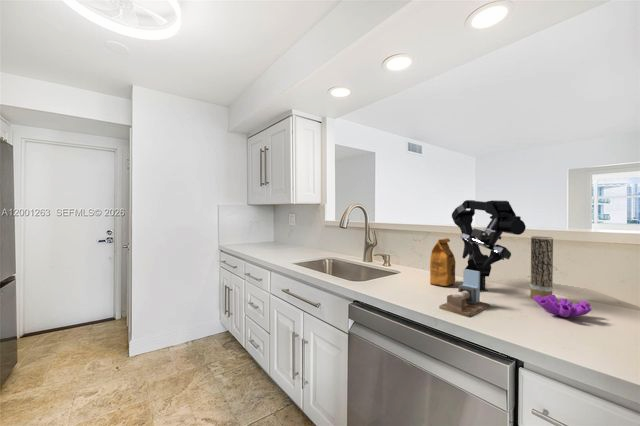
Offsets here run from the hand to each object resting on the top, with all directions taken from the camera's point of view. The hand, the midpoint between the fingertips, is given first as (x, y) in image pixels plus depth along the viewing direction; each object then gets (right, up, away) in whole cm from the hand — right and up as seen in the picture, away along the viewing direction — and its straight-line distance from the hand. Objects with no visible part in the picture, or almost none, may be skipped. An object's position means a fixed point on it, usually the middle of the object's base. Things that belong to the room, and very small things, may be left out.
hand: (472, 262), depth 110 cm
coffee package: (-2, -15, +21) cm, 26 cm away
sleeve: (-6, -13, -8) cm, 16 cm away
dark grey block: (-8, -13, -10) cm, 18 cm away
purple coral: (+19, -15, -18) cm, 30 cm away
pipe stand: (-9, -14, -11) cm, 20 cm away
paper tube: (+27, -15, -1) cm, 31 cm away
